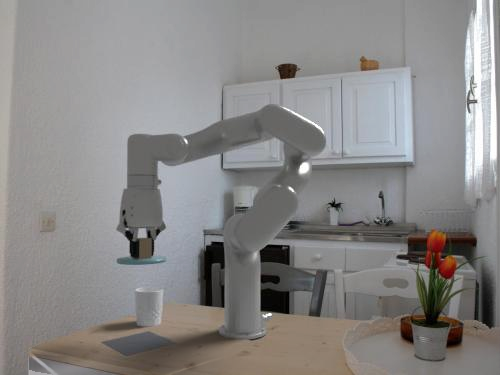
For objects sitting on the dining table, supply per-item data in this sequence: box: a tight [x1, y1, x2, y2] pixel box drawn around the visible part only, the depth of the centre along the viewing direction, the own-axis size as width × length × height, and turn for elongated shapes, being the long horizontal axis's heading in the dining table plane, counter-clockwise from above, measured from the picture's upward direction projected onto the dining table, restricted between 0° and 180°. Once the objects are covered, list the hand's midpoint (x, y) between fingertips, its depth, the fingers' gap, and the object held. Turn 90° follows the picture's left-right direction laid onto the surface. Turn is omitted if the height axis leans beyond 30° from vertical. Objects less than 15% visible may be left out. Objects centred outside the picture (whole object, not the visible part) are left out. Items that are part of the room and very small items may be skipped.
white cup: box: [134, 286, 164, 328], centre depth 119 cm, size 8×8×10 cm
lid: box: [116, 237, 167, 266], centre depth 105 cm, size 12×12×6 cm
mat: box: [101, 330, 177, 357], centre depth 101 cm, size 13×13×1 cm
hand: (141, 255), depth 105 cm, fingers closed on lid, 3 cm apart
